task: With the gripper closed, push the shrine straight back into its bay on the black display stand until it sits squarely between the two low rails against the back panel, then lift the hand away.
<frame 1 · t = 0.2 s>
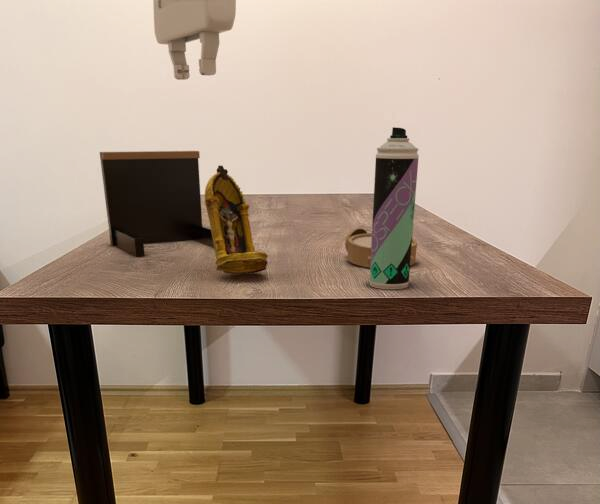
hand: (194, 77, 87), 26 cm above the table, tool pointing down, fingers open, 8 cm apart
shrine: (237, 277, 95), on the table
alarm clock: (378, 261, 107), on the table
spray can: (388, 286, 90), on the table
black display stand: (171, 247, 117), on the table
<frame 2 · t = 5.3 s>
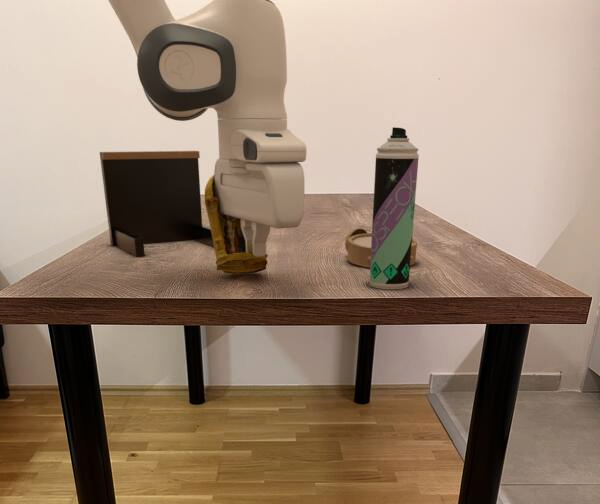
hand: (255, 254, 88), 4 cm above the table, tool pointing down, fingers closed
shrine: (237, 277, 95), on the table, touching gripper
everything else where it was.
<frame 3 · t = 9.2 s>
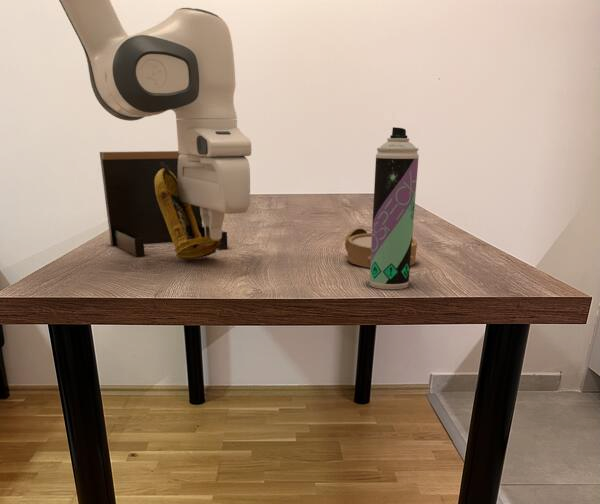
hand: (213, 238, 100), 4 cm above the table, tool pointing down, fingers closed
shrine: (191, 261, 106), on the table, touching gripper
everything else where it was.
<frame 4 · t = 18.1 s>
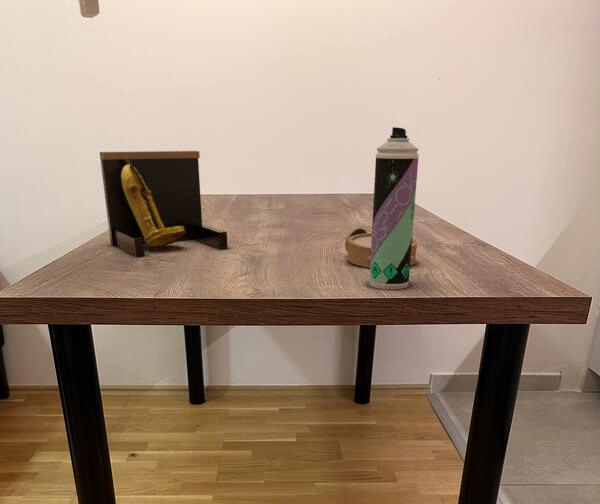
hand: (90, 16, 84), 33 cm above the table, tool pointing down, fingers closed
shrine: (157, 249, 116), on the table
everything else where it was.
at the end: shrine inside the target area on the black display stand (2.6 cm from its centre), point 0.0 cm above the black display stand's base; shrine tilted 0° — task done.
